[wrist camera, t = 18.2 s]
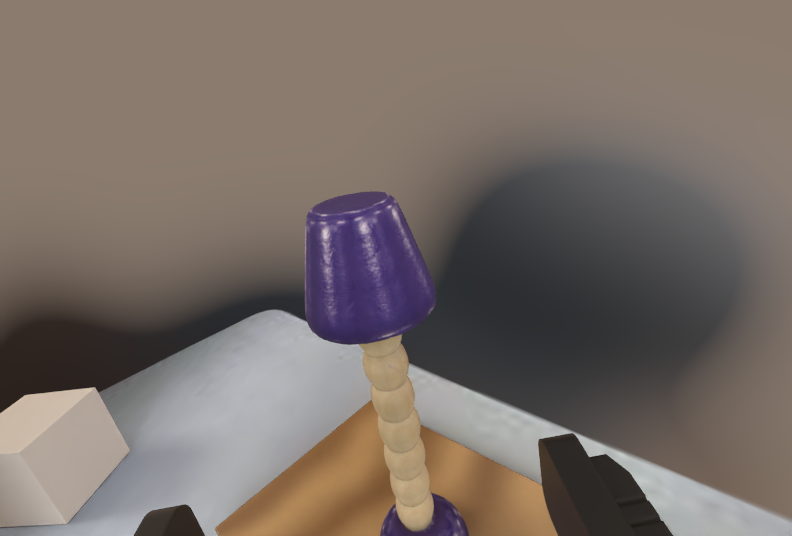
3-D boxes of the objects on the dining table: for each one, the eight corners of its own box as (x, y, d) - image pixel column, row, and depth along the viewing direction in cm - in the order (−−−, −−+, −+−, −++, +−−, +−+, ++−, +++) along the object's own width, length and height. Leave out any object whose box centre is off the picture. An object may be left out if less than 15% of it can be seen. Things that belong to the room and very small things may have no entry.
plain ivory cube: (67, 524, 27) (18, 453, 25) (-10, 528, 28) (-64, 460, 26) (130, 450, 33) (95, 387, 31) (64, 456, 34) (25, 394, 32)
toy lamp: (486, 509, 21) (431, 175, 15) (474, 614, 17) (392, 214, 11) (395, 498, 23) (313, 192, 17) (364, 591, 19) (241, 231, 13)
